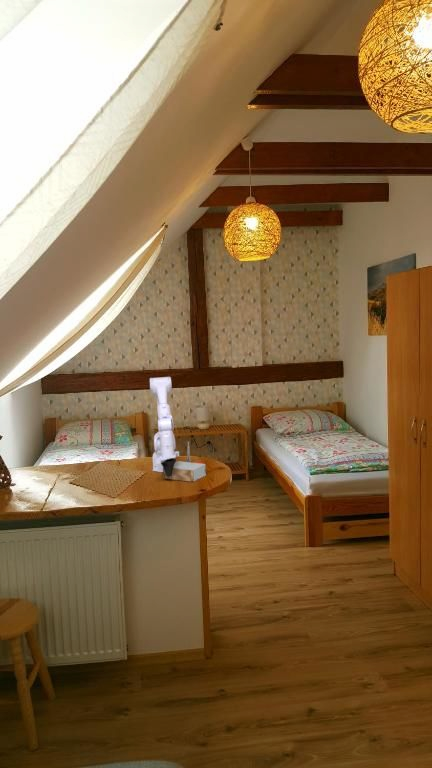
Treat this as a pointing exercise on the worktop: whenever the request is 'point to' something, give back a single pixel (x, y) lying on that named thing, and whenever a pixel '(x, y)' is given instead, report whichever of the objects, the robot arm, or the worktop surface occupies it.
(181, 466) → the cabinet
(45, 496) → the worktop surface
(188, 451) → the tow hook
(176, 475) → the door
